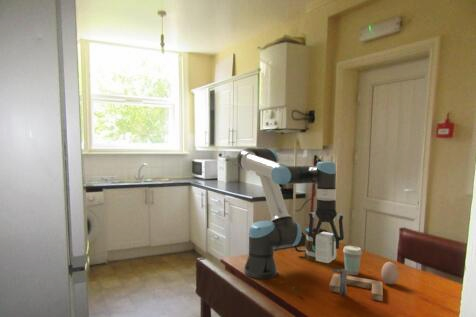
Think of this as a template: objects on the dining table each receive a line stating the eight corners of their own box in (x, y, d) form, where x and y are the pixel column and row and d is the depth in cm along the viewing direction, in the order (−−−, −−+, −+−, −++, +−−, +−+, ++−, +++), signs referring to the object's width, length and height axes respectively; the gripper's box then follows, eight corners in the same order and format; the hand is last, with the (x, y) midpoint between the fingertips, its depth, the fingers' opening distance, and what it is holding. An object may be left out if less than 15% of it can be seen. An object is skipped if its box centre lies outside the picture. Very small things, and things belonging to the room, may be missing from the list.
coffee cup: (362, 277, 144) (363, 251, 144) (343, 275, 146) (344, 249, 146) (359, 270, 153) (360, 246, 152) (341, 268, 154) (342, 244, 154)
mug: (330, 256, 173) (331, 229, 173) (329, 264, 161) (330, 235, 160) (295, 251, 180) (295, 225, 180) (291, 259, 167) (292, 231, 167)
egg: (378, 283, 137) (379, 261, 137) (384, 279, 142) (385, 258, 142) (394, 288, 133) (395, 266, 132) (400, 284, 137) (401, 262, 137)
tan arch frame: (329, 290, 129) (329, 284, 129) (333, 278, 142) (333, 273, 142) (382, 301, 121) (382, 295, 121) (382, 287, 134) (382, 281, 134)
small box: (323, 256, 133) (323, 231, 133) (335, 258, 130) (336, 233, 130) (315, 260, 127) (315, 234, 127) (328, 263, 123) (328, 236, 124)
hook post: (332, 294, 126) (332, 269, 126) (332, 291, 128) (333, 267, 128) (345, 297, 124) (346, 271, 123) (346, 294, 126) (347, 269, 126)
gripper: (300, 198, 129) (300, 254, 129) (350, 201, 121) (350, 261, 121) (304, 197, 136) (304, 250, 136) (351, 199, 128) (351, 256, 128)
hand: (325, 255), depth 128 cm, fingers closed on small box, 6 cm apart
